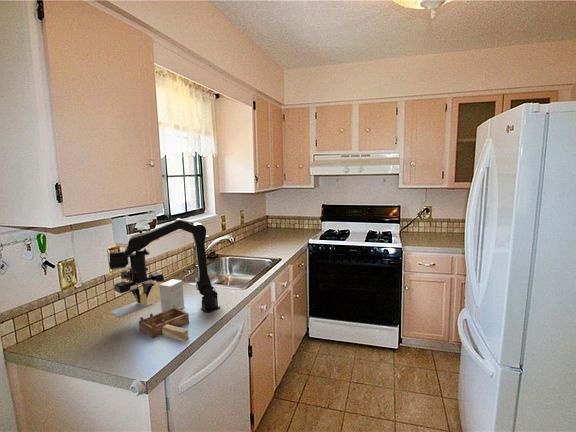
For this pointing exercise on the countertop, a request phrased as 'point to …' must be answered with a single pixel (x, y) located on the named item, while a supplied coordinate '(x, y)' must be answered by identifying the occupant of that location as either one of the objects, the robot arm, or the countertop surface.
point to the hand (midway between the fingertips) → (141, 301)
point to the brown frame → (163, 321)
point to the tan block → (175, 332)
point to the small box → (171, 295)
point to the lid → (132, 307)
